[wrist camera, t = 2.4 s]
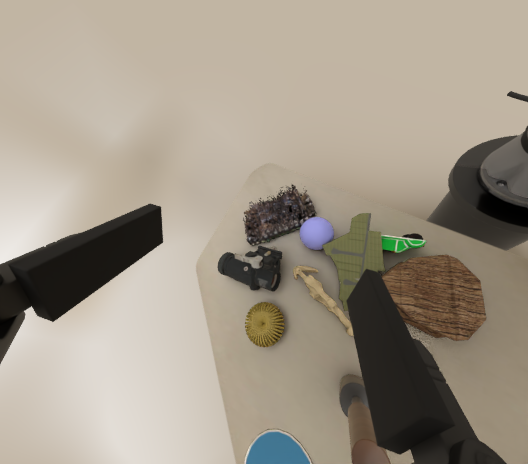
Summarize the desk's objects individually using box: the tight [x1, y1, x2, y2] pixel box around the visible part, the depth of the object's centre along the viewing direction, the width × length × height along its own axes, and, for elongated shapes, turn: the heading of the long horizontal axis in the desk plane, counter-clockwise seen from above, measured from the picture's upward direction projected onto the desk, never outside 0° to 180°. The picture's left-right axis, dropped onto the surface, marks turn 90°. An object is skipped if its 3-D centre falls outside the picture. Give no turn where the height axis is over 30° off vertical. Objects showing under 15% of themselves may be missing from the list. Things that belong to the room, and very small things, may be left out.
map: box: [322, 213, 386, 311], centre depth 36 cm, size 11×18×1 cm, turn 169°
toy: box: [293, 266, 354, 336], centre depth 36 cm, size 6×4×15 cm
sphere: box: [300, 217, 334, 250], centre depth 41 cm, size 7×7×7 cm
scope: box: [218, 246, 282, 291], centre depth 42 cm, size 8×14×10 cm
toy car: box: [381, 233, 427, 253], centre depth 36 cm, size 12×5×4 cm
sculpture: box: [245, 302, 285, 347], centre depth 38 cm, size 8×4×8 cm
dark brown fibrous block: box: [243, 184, 317, 246], centre depth 47 cm, size 20×12×6 cm, turn 102°
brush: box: [340, 374, 391, 464], centre depth 22 cm, size 4×4×20 cm
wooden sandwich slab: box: [355, 255, 486, 341], centre depth 30 cm, size 12×16×5 cm
